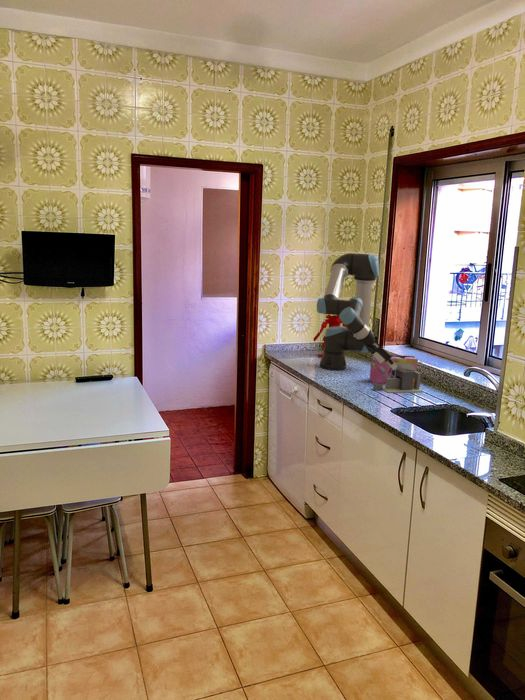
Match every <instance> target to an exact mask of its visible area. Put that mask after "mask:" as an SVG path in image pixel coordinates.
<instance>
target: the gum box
mask: <svg viewBox="0 0 525 700" xmlns="http://www.w3.org/2000/svg"><path fill="white" fill-rule="evenodd" d="M389 355H390V354H389ZM390 356H391V357H392V358H391V359H392V360H393V361H394V362H395V364H396V365H397V366H398V367H397V368H396V369H408V370H410V371H417V370H418V361H419V360H418V358H416V357H415V356H414V355H390ZM383 359H384V358H383ZM370 363H371V364H370V370H369V371H370V372H369V380H370V382H371V383H373V384H375V383H382V384H386V378H395V375H396V369H395V370H393V369H392V368H391V367H390V366H389V364H388V363H387V362H385V359H384V361H383V362H382V363H381V364H380V363H379V361H378V360H377V359H376V358H375V357H374V355H373V354H371V361H370ZM417 372H418V371H417Z"/></svg>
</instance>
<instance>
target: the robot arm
mask: <svg viewBox="0 0 525 700" xmlns="http://www.w3.org/2000/svg"><path fill="white" fill-rule="evenodd" d="M379 263H380V261H379V257H378V255H376V254H370V253H350V252H348V253H345V254H342V255H340V256H338V257H337V258H336V259H335V260H334V261H333V263H332V264H331V266H330V270H329V273H330V276H329V280H328V282H327V286H326V288H325V291H324V292H325V293H324V295H323V297H322V298H321V297H319V298H318V299H317V301H316V302H317V303H316V311H317V313H318V314H323V315H331V316H337V315H339V318H340V319H341V321H342V322H343V323H342V324H345V326H346V327H347V328H348V329H349V330H347V328H346V327H344V326H343V325H342V326H341V325H340V326H339V327H330V328H329V327H326V328H325V333H324V336H325V342H324V341H323V343H324V350H323V356H322V358H321V359H320V361H319V367H320V368H321V369H324V370H329V369H330V371H344V370H347V360H346V355H345V356H344V354H345V352H346V351H348V352H357V353H370V354H371V355H374V357H375V358H376V359H377V360H378V361H379V363H380V364H381V363H382V362H383V361H384V359H385V362H387V363H388V364H389V366H390V367H391V368H392V369H393V370H395V369H396V368H397V367H398V366H397V365H396V364H395V362H394V361H393V360H392V359H391V358H392V357H391V356H390V353H388V352H387V351H386V350H385V349H384V348H383V347H382V346H381V345H380V344H379V343H378V342H376V340H375V334H374V332H373V331H372V327H370V316H371V306H372V305H371V304H372V293H373V284H374V282H376V281H377V279H376V278H379V276H380V264H379ZM347 276H353V280H354V281H355V282H356V284H355V296H354V297H351V298H349V300H347V299H340V296H341V292H342V289H343V285H344V283H345V279H346V278H347ZM383 358H384V359H383Z"/></svg>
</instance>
